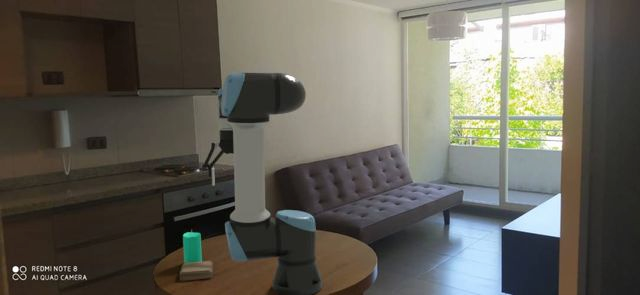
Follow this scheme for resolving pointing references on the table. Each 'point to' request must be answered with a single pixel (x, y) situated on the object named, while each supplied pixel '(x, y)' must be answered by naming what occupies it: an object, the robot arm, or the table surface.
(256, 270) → the table surface
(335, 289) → the table surface
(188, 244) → the candle
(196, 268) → the stand
